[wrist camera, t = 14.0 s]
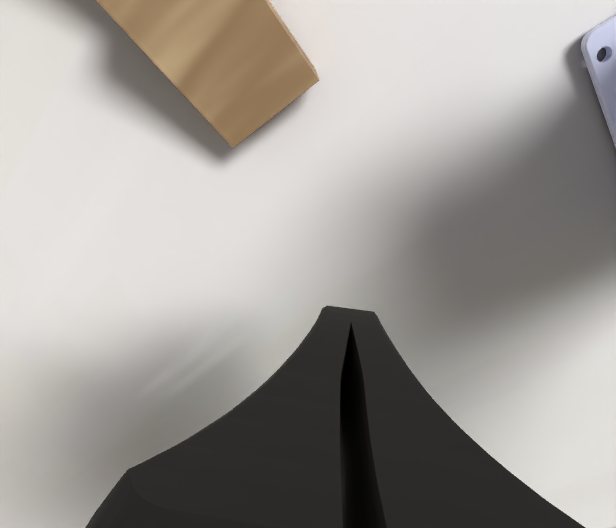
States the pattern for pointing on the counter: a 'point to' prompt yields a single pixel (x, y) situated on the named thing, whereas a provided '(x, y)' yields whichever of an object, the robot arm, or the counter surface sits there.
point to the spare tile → (221, 57)
